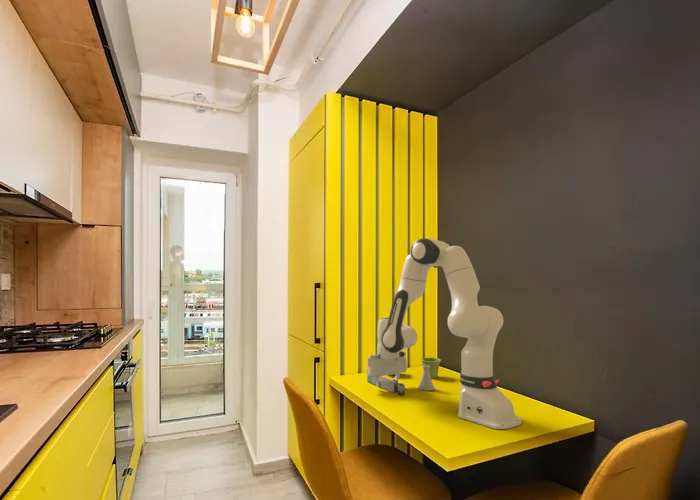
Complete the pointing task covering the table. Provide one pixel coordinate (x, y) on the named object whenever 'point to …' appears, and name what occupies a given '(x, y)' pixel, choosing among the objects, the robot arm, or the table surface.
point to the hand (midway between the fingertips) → (387, 384)
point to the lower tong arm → (389, 380)
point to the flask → (426, 380)
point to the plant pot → (432, 366)
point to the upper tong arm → (384, 384)
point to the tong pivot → (401, 389)
